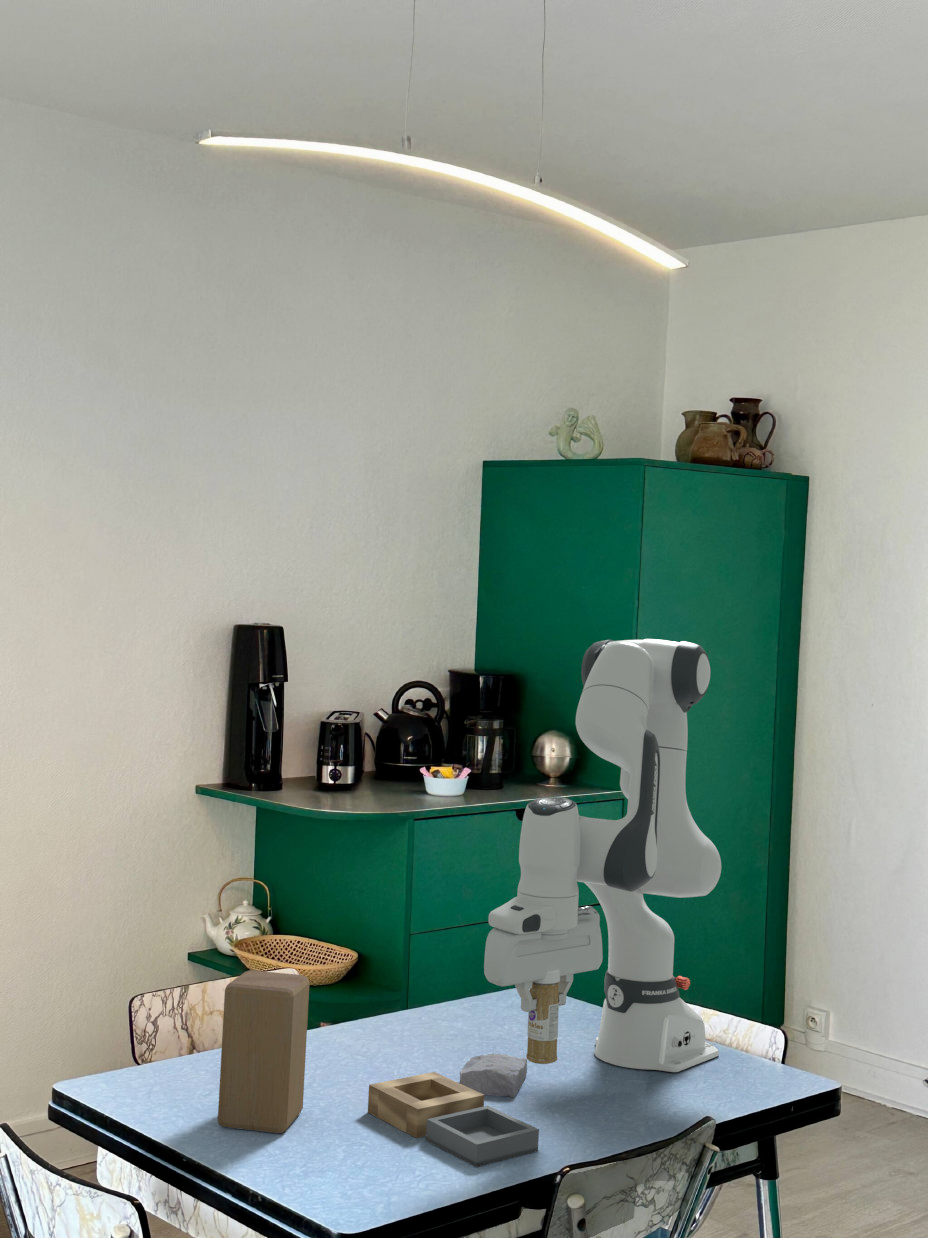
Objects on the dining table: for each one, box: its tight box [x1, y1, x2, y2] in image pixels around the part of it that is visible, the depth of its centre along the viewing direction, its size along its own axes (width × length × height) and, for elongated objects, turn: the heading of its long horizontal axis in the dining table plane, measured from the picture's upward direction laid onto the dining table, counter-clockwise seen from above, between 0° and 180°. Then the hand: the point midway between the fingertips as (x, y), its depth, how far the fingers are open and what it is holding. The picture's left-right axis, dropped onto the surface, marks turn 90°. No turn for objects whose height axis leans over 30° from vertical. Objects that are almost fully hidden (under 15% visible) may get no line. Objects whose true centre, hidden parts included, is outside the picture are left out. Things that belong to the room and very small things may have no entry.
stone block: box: [459, 1052, 528, 1098], centre depth 213 cm, size 12×5×10 cm
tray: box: [425, 1105, 540, 1168], centre depth 186 cm, size 11×11×3 cm
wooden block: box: [217, 969, 310, 1134], centre depth 192 cm, size 10×10×20 cm
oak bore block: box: [367, 1071, 485, 1139], centre depth 196 cm, size 12×12×4 cm
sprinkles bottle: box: [525, 970, 560, 1065], centre depth 194 cm, size 5×5×13 cm
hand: (543, 1008), depth 194 cm, fingers closed on sprinkles bottle, 4 cm apart
